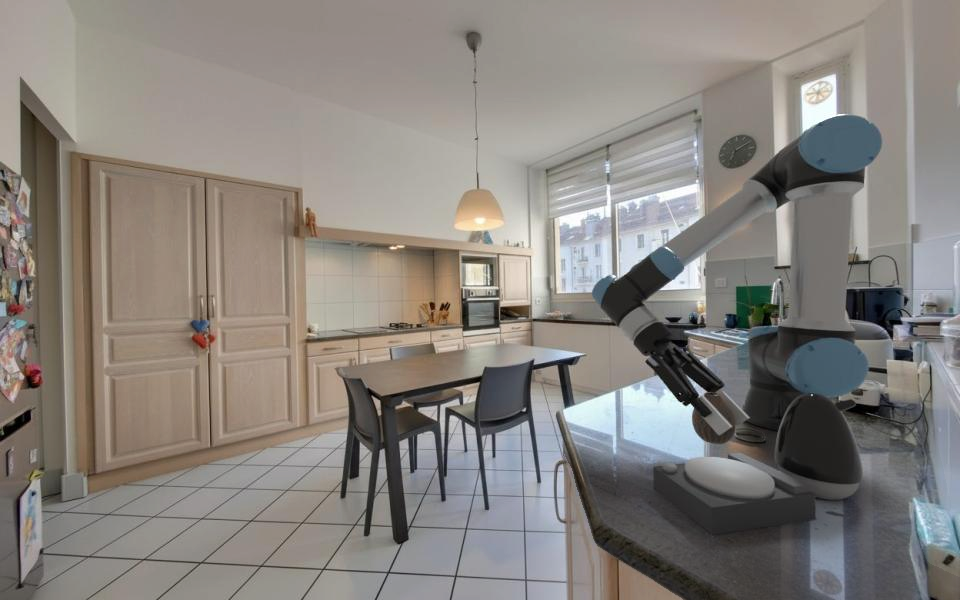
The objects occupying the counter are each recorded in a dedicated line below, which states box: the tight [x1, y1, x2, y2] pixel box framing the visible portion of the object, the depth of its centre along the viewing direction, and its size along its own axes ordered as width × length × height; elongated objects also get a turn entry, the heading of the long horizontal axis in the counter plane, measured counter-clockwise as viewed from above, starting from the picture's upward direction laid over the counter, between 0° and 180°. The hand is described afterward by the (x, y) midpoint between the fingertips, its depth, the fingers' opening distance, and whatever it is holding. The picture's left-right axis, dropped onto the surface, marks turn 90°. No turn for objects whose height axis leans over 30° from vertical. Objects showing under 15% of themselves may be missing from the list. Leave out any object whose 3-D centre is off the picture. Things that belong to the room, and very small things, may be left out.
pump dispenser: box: [773, 393, 864, 501], centre depth 58 cm, size 10×10×15 cm
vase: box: [691, 391, 736, 445], centre depth 70 cm, size 7×7×9 cm
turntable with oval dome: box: [652, 452, 817, 536], centre depth 55 cm, size 16×12×4 cm
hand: (734, 426), depth 67 cm, fingers closed on vase, 7 cm apart
